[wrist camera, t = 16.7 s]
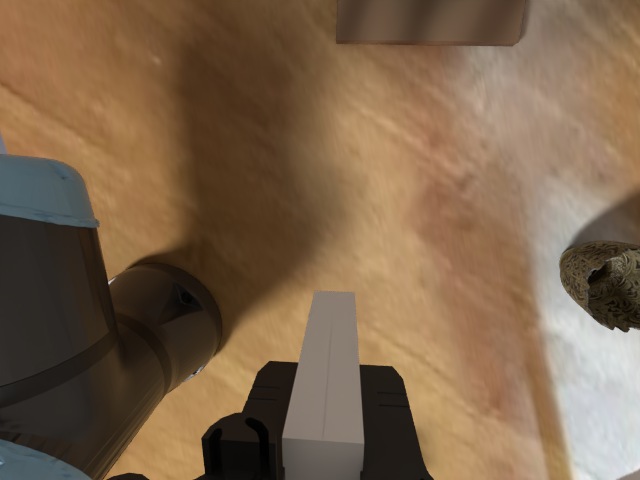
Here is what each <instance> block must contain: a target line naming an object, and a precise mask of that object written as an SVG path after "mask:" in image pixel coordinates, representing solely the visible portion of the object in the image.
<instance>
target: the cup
mask: <svg viewBox="0 0 640 480" xmlns="http://www.w3.org/2000/svg"><path fill="white" fill-rule="evenodd" d="M559 268H560V278H561V282H562V285H563V287H564V288H565V290H566V291H567V293H568V294H569V295H570V296H571V297H572V299H573V300H574V301H575V302H576V303H577V304H579V305H580V306H581V307H582V308H583V309H584V310H585V311H586V312H587V313H588V314H589V315H591V316H592V318H594V319H595V320H596V321H597V322H598V323H600V324H601V325H603V326H605V327H607V328H609V329H611V330H614V328H615V327H617V328H619V329H620V330H622V331H623V332H628V331H629V330H630V329H629V328H634V329H638V330H640V246H637V245H632V244H627V243H621V242H614V241H594V242H589V243H585V244H583V245H581V246H579V247H573V248H571V249H569V250H567V251H566V252H564V253H563V255H562V256H561V258H560V260H559Z"/></svg>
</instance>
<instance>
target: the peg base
mask: <svg viewBox="0 0 640 480" xmlns="http://www.w3.org/2000/svg"><path fill="white" fill-rule="evenodd" d="M525 3H526V0H338V11H337V33H336V42H337V44H397V45H465V46H513V45H515V44H516V43H518V42H519V37H520V31H521V26H522V20H523V14H524V9H525Z"/></svg>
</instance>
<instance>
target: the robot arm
mask: <svg viewBox="0 0 640 480" xmlns="http://www.w3.org/2000/svg"><path fill="white" fill-rule="evenodd" d="M97 227H100V226H99V221H98V220H97V219H95V217H94V213H93V210H92V206H91V203H90V199H89V196H88V192H87V189H86V185H85V182H84V180H83V178H82V176H81V175H80V174H79V173H78V171H76V170H75V169H74V168H73V167H71V166H70V165H68V164H66V163H64V162H61V161H58V160H53V159H46V158H38V157H28V156H18V155H7V154H0V480H103V479H104V477H105V476H106V475H107V473H108V472H109V471H110V469H111V468H112V466H113V465H114V464H115V462H116V461H117V460H118V458H119V457H120V456H121V454H122V453H123V452H124V450H125V449H126V447H127V446H128V445H129V443H130V442H131V441H132V439H133V438H134V437H135V435H136V434H137V433H138V431H139V430H140V428H141V427H142V426H143V424H144V423H145V422H146V420H147V419H148V418H149V416H150V415H151V413H152V412H153V411H154V409H155V408H156V407H157V405H158V404H159V403H160V401H161V400H162V399H163V398H164V396H165V395H166V394H167V393H169V392H170V391H172V390H173V389H175V388H176V387H178V386H179V385H180V384H181V383H182V382H184V381H186V380H188V379H190V378H192V377H194V376H195V375H196V374H198V373H199V372H200V371H201V370H202V369H203V368H204V367H205V366H206V365H207V364H208V362H209V361H210V359H211V358H212V356H213V355H214V353H215V352H216V350H217V348H218V346H219V343H220V340H221V335H222V322H221V316H220V312H219V309H218V307H217V305H216V303H215V301H214V299H213V297H212V296H211V294H210V293H209V292H208V290H207V289H206V288H205V287H204V286H203V285H202V284H201V283H200V282H199V281H198V280H197V279H195V278H194V277H193V276H191V275H190V274H188V273H186V272H185V271H183V270H180V269H178V268H176V267H173V266H169V265H165V264H157V263H149V264H142V265H137V266H134V267H132V268H130V269H127V270H126V271H124V272H122V273H120V274H118V275H116V276H115V277H113V278H112V279H111V280H109V281H108V279H107V274H106V269H105V265H104V260H103V255H102V250H101V245H100V241H99V236H98V231H97ZM201 440H202V449H203V458H204V467H205V474H204V475H202V476H200V477H198V478H196V479H194V480H434V479H433V478H432V477H431V476H430V474H429V473H428V471H427V469H426V466H425V464H424V461H423V458H422V454H421V450H420V446H419V442H418V438H417V434H416V430H415V426H414V422H413V418H412V414H411V410H410V405H409V401H408V397H407V393H406V389H405V385H404V381H403V379H402V377H401V376H400V375H399V374H398V373H397V371H396V370H395V369H394V368H393V367H392V366H376V365H359V353H358V337H357V321H356V305H355V292H334V291H314V296H313V300H312V305H311V309H310V314H309V318H308V323H307V327H306V332H305V336H304V341H303V345H302V350H301V354H300V359H299V363H297V362H279V361H269V362H268V363H267V364H266V365H265V366H264V367H263V368H262V369H261V370H260V371H259V372H258V373H257V376H256V378H255V381H254V383H253V386H252V389H251V391H250V393H249V396H248V400H247V401H246V403H245V406H244V408H243V411H242V412H241V413H234V414H231V415H229V416H226V417H223V418H221V419H220V420H218V421H217V422H216V423H214V424H213V425H212V426H210V427H209V429H208V430H207V431H206V433H205V434H204V435H203V437H202V438H201ZM107 480H149V479H148V478H146V477H145V476H144V475H142V474H135V473H126V474H122V475H117V476H113V477H111V478H109V479H107Z"/></svg>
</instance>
